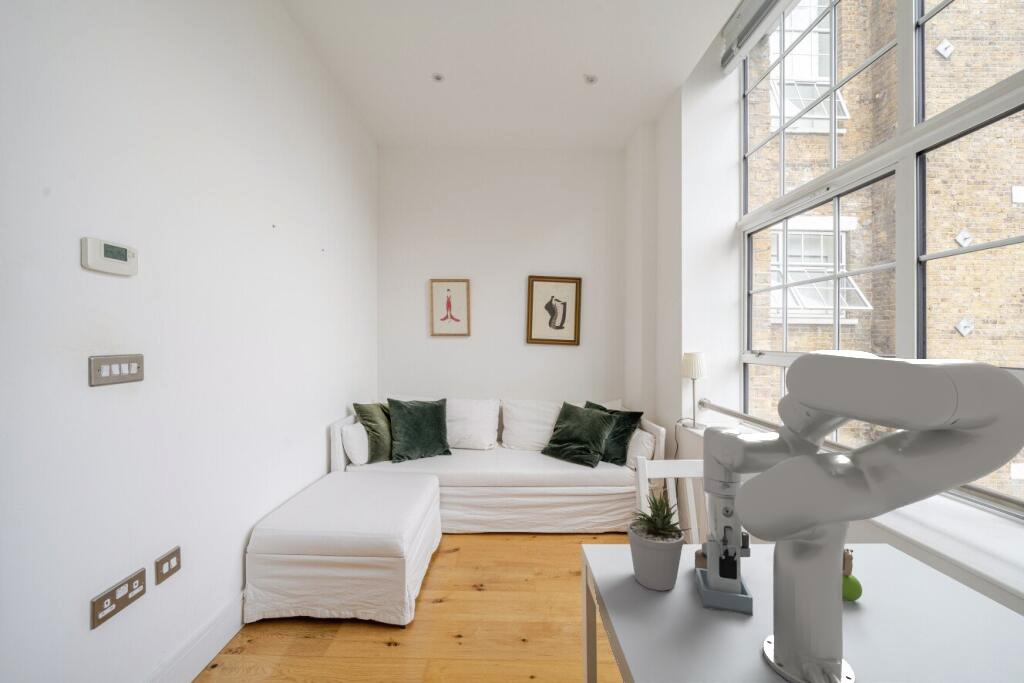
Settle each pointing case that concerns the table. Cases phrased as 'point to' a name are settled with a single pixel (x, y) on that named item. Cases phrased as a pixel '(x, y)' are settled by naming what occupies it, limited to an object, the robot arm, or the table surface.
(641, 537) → the potted plant
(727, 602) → the tray
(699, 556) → the crank pedestal
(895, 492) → the robot arm
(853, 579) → the snail figurine
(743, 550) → the crank
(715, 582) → the skincare box
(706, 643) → the table surface
